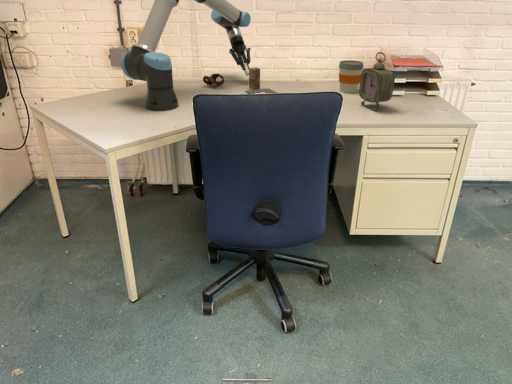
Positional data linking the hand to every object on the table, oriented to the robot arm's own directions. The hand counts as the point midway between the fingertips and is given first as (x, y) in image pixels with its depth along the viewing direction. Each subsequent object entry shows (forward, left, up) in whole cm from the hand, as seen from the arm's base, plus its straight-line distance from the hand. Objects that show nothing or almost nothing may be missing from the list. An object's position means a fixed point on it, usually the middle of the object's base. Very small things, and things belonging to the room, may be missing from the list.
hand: (247, 74), depth 225 cm
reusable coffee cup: (+45, -33, -6) cm, 56 cm away
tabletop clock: (+37, -64, -6) cm, 74 cm away
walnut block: (0, -9, -6) cm, 11 cm away
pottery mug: (-19, +4, -6) cm, 20 cm away
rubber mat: (0, -18, -6) cm, 19 cm away
